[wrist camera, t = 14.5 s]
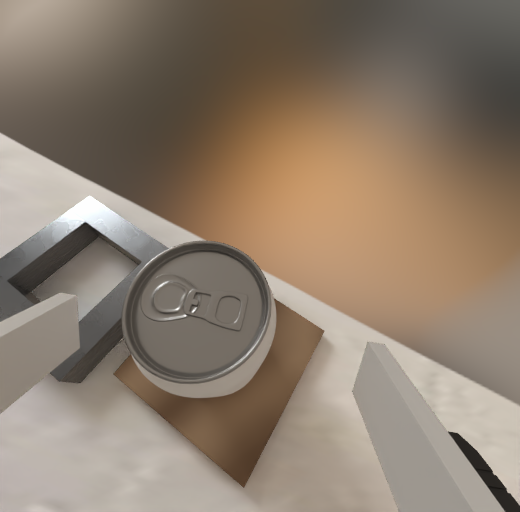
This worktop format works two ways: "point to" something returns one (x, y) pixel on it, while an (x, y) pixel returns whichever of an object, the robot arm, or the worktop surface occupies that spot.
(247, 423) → the walnut pad
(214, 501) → the worktop surface
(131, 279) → the steel collar
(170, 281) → the can
